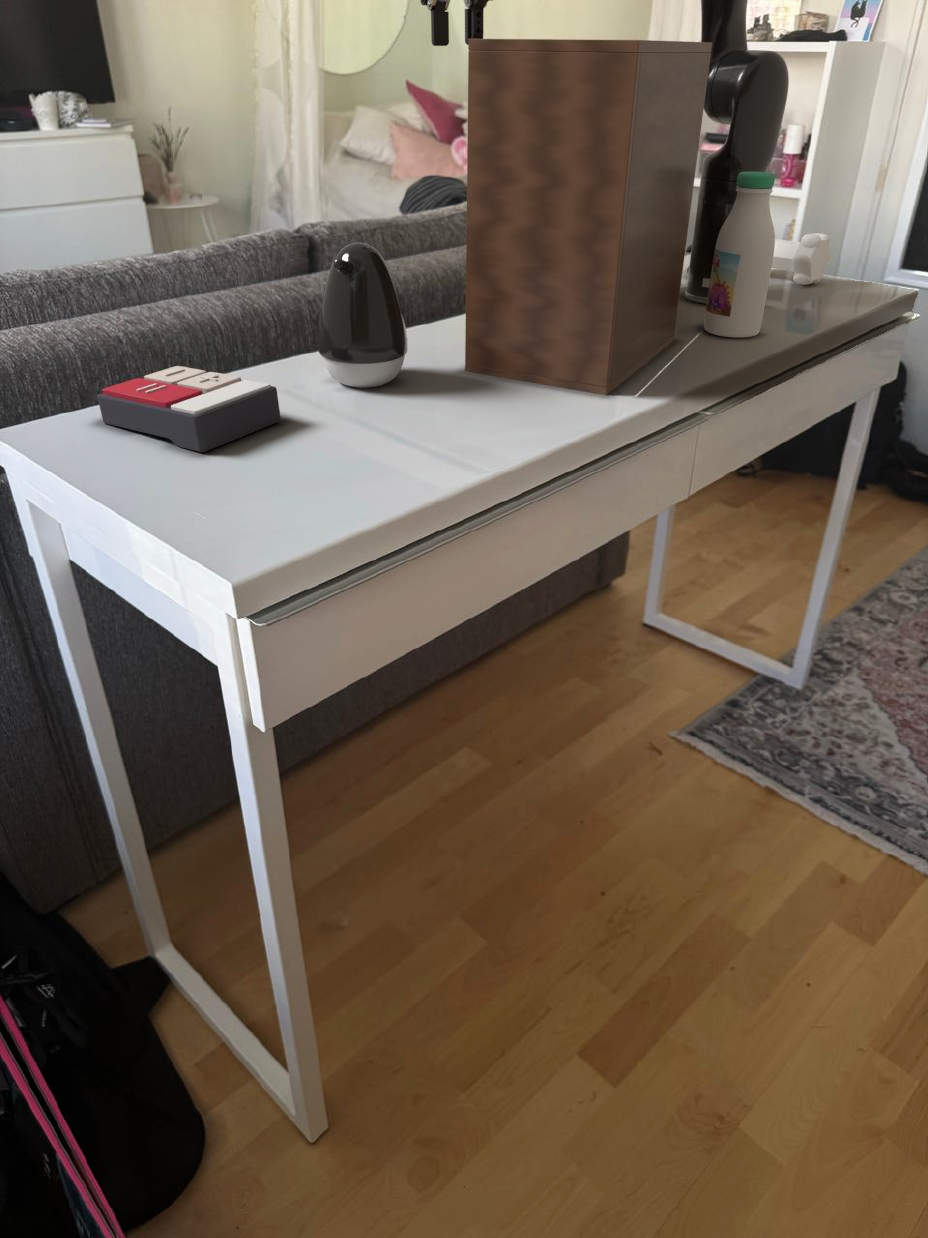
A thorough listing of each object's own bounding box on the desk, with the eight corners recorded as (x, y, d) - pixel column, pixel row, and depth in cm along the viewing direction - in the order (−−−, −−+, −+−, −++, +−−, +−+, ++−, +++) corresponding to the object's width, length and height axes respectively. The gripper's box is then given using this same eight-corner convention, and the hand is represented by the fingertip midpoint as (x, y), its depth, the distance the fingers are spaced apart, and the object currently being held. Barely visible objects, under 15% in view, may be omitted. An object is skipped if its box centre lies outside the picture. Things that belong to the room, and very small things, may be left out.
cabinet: (464, 372, 111) (468, 38, 93) (550, 324, 130) (566, 40, 112) (605, 396, 104) (639, 39, 86) (673, 341, 123) (712, 42, 105)
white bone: (722, 276, 159) (729, 225, 155) (746, 269, 164) (754, 220, 160) (804, 290, 150) (814, 237, 146) (827, 282, 156) (837, 230, 151)
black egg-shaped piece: (304, 389, 104) (292, 247, 96) (344, 364, 113) (337, 231, 105) (386, 400, 102) (381, 254, 94) (421, 373, 110) (420, 238, 102)
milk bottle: (754, 325, 131) (782, 169, 120) (764, 340, 124) (794, 176, 114) (699, 323, 131) (722, 168, 121) (706, 337, 125) (730, 175, 114)
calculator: (177, 361, 101) (277, 379, 93) (184, 400, 103) (283, 420, 95) (92, 387, 93) (194, 408, 85) (102, 428, 95) (202, 453, 88)
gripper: (515, -125, 104) (512, 44, 112) (452, -109, 114) (454, 45, 123) (457, -130, 100) (459, 45, 109) (398, -113, 111) (404, 46, 120)
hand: (456, 45), depth 116 cm, fingers open, 8 cm apart
